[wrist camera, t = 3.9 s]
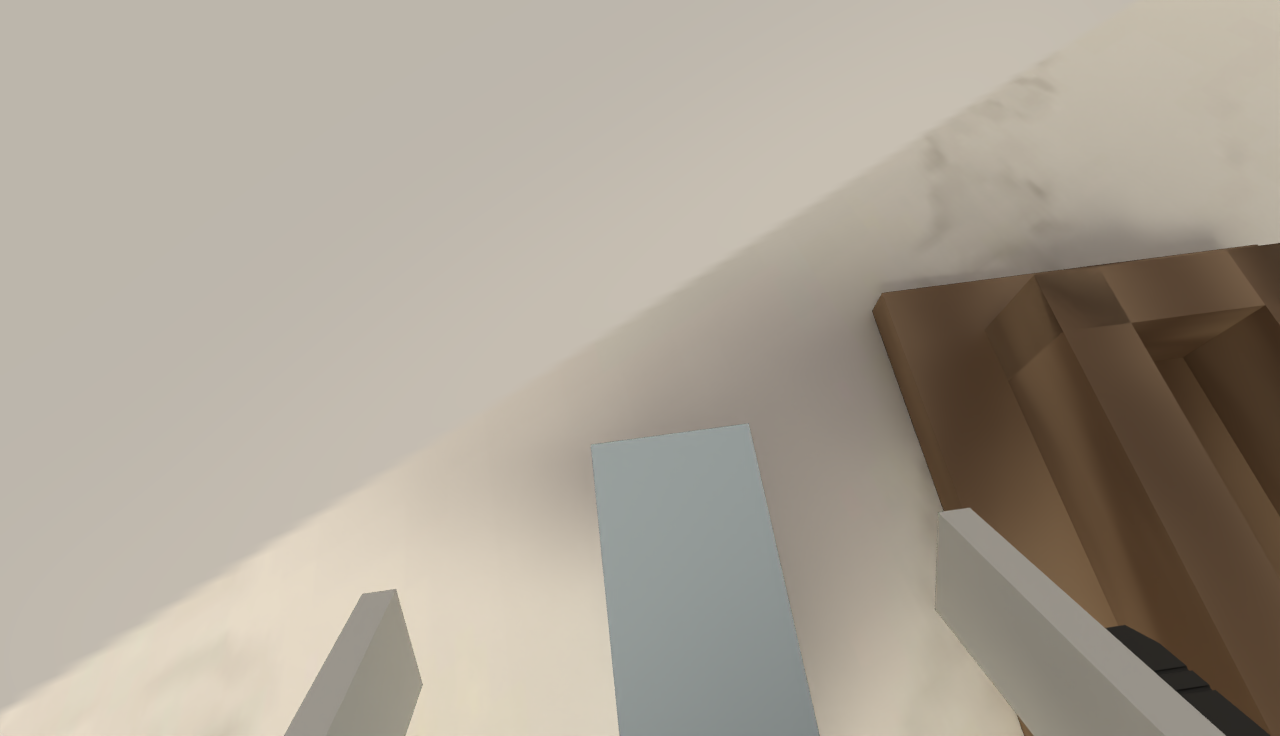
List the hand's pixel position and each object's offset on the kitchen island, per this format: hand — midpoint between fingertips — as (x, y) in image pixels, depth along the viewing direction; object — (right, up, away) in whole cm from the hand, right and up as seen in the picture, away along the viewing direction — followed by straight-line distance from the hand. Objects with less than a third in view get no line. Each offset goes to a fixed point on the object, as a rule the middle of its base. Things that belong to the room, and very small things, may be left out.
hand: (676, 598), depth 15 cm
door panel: (+1, -4, +3) cm, 5 cm away
